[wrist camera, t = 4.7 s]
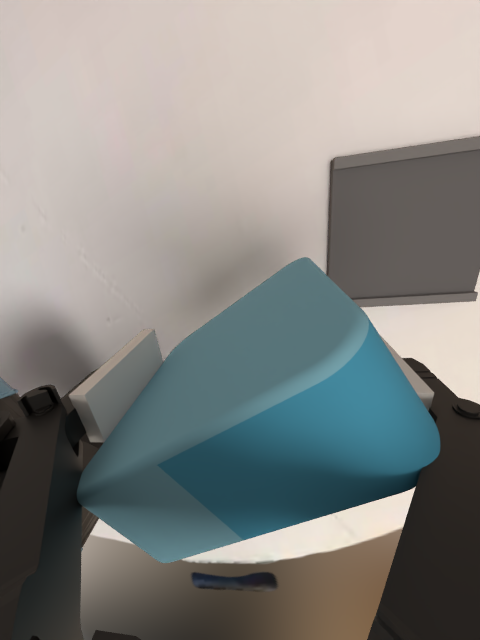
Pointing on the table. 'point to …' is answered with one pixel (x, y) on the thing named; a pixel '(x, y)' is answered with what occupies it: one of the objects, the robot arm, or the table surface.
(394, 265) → the dark gray square slab
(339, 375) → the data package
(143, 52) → the table surface
